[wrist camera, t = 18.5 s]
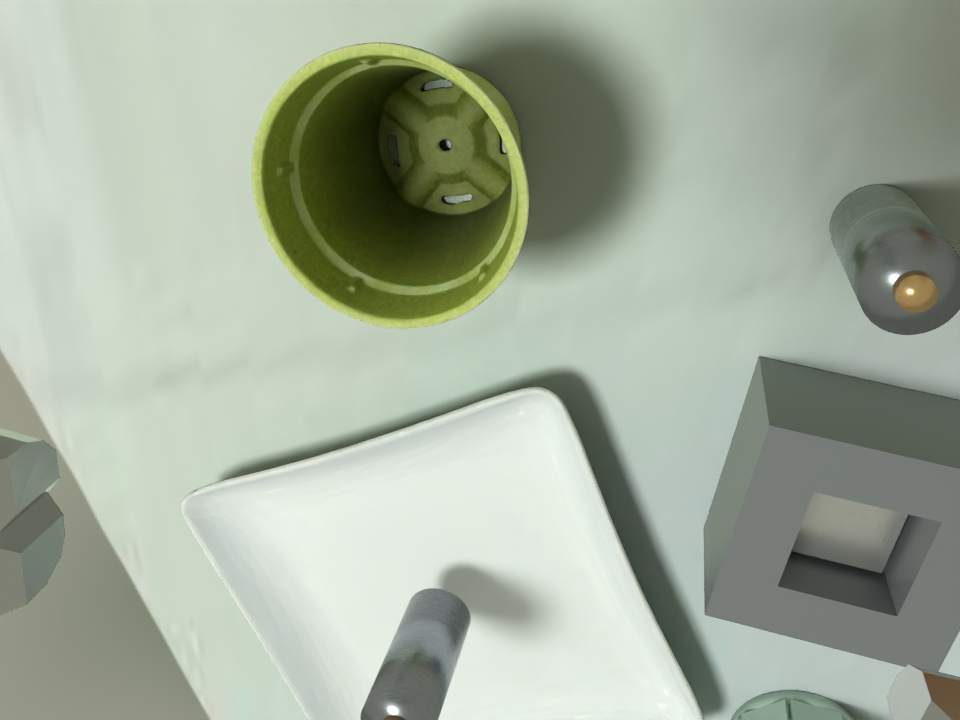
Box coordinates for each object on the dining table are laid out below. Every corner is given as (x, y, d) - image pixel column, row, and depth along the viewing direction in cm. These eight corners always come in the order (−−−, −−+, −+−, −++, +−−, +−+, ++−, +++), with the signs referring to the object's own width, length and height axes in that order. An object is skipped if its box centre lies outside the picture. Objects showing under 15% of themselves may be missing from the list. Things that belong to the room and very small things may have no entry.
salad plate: (562, 349, 40) (551, 383, 37) (714, 697, 46) (715, 750, 43) (199, 465, 47) (165, 501, 44) (374, 751, 54) (354, 799, 51)
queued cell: (818, 255, 35) (847, 330, 28) (844, 177, 34) (881, 236, 27) (901, 272, 35) (950, 352, 28) (932, 193, 33) (991, 257, 26)
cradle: (701, 535, 42) (702, 622, 36) (759, 356, 37) (769, 425, 32) (901, 584, 40) (932, 682, 35) (985, 406, 36) (1035, 486, 31)
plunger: (780, 534, 37) (783, 548, 37) (810, 456, 36) (812, 469, 35) (877, 558, 37) (881, 573, 36) (911, 480, 35) (917, 494, 34)
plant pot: (543, -2, 33) (497, 16, 26) (580, 237, 37) (549, 315, 29) (318, 44, 36) (215, 72, 28) (373, 263, 39) (295, 341, 32)
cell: (411, 581, 43) (358, 699, 36) (474, 598, 43) (433, 720, 36) (404, 630, 44) (352, 751, 38) (465, 646, 44) (424, 773, 37)
